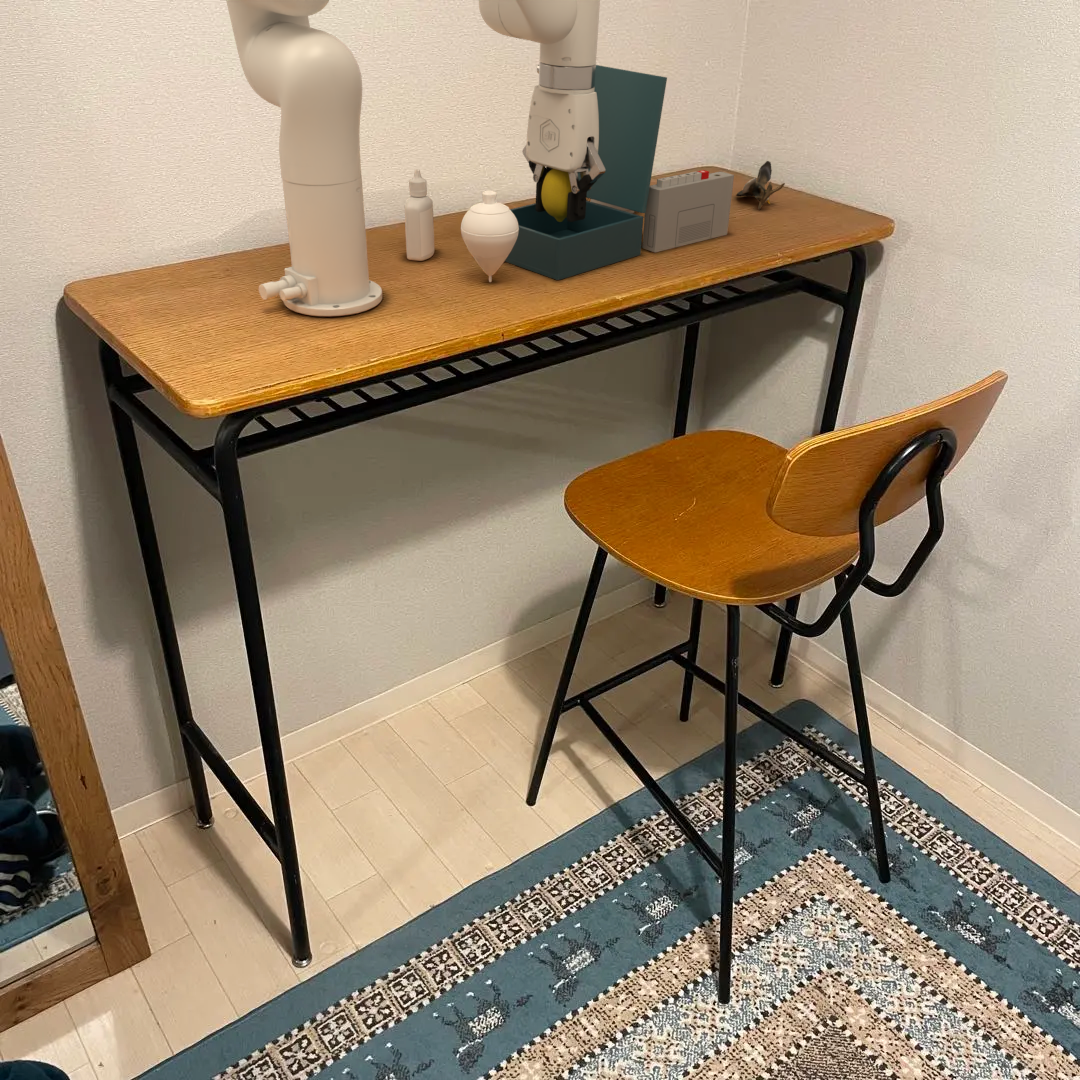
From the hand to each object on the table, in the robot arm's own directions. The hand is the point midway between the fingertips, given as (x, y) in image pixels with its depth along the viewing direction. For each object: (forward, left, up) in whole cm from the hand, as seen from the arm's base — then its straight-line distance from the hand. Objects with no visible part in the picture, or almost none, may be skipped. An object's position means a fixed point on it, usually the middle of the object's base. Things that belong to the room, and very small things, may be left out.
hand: (560, 213), depth 149 cm
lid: (+10, 0, +9) cm, 14 cm away
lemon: (0, 0, -1) cm, 1 cm away
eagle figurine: (+46, -2, -6) cm, 46 cm away
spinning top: (-15, -2, -6) cm, 17 cm away
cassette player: (+20, -8, -6) cm, 22 cm away
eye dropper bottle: (-15, +13, -6) cm, 21 cm away
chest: (+1, 0, -6) cm, 6 cm away
